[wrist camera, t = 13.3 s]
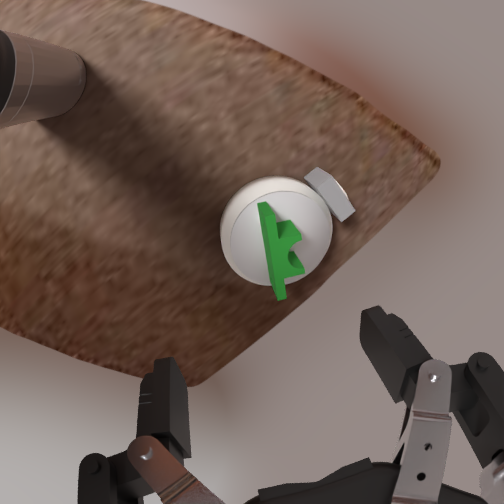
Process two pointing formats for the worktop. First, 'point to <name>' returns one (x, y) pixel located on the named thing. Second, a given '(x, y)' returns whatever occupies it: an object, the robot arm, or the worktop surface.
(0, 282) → the worktop surface
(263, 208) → the pipe clamp
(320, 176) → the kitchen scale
